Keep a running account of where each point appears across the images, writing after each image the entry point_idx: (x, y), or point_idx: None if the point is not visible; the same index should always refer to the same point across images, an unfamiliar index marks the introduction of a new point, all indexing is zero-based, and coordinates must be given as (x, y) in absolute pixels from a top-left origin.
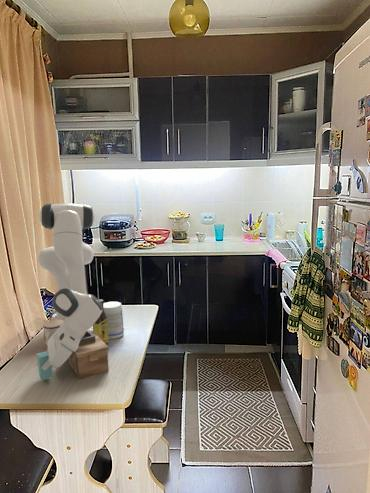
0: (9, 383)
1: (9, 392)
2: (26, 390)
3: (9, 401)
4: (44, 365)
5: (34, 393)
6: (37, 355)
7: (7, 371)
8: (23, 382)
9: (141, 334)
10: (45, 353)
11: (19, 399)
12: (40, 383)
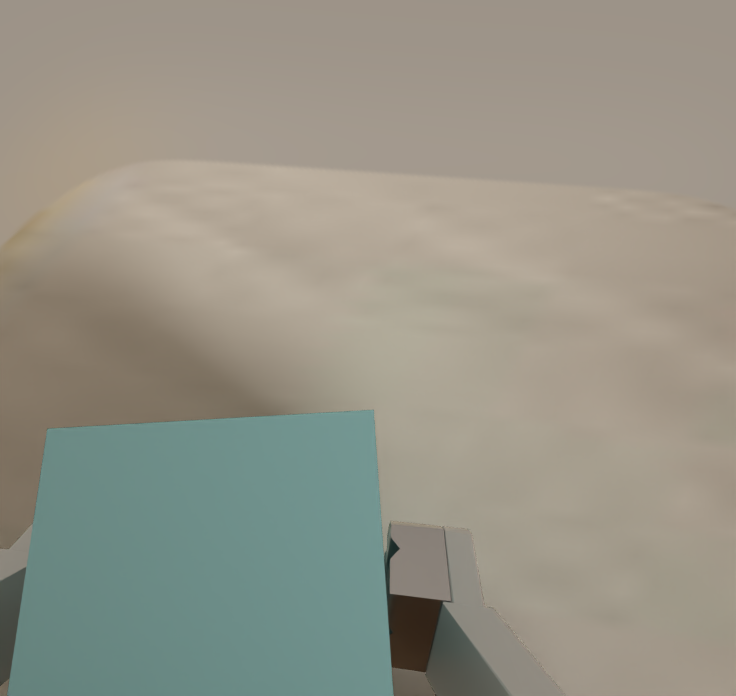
0: (424, 211)
1: (251, 198)
2: (193, 326)
3: (91, 186)
4: (29, 542)
5: (80, 386)
6: (275, 419)
7: (684, 215)
8: (377, 319)
9: None
10: (230, 669)
11: (65, 255)
12: None
